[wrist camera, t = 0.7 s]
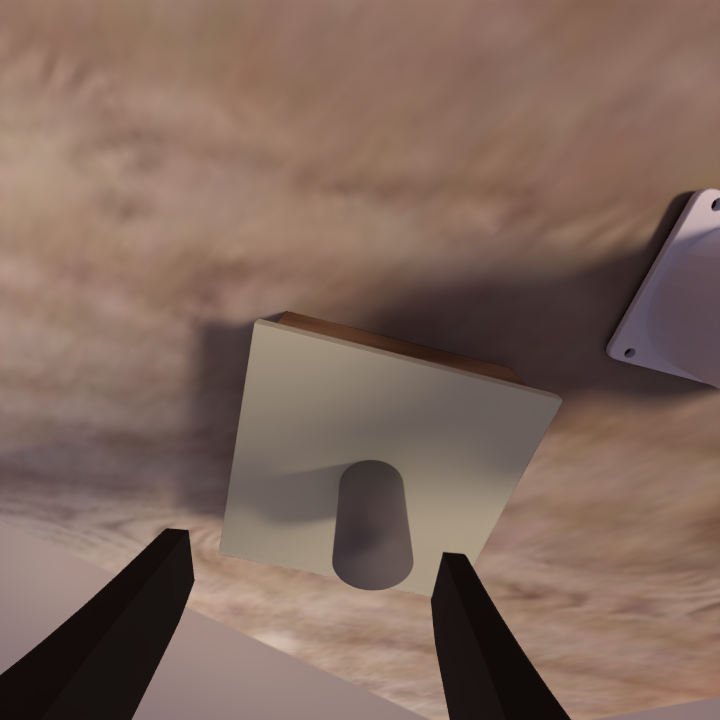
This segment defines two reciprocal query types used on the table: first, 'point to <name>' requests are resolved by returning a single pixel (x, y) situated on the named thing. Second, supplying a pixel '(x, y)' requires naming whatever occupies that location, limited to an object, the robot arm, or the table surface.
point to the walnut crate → (399, 347)
